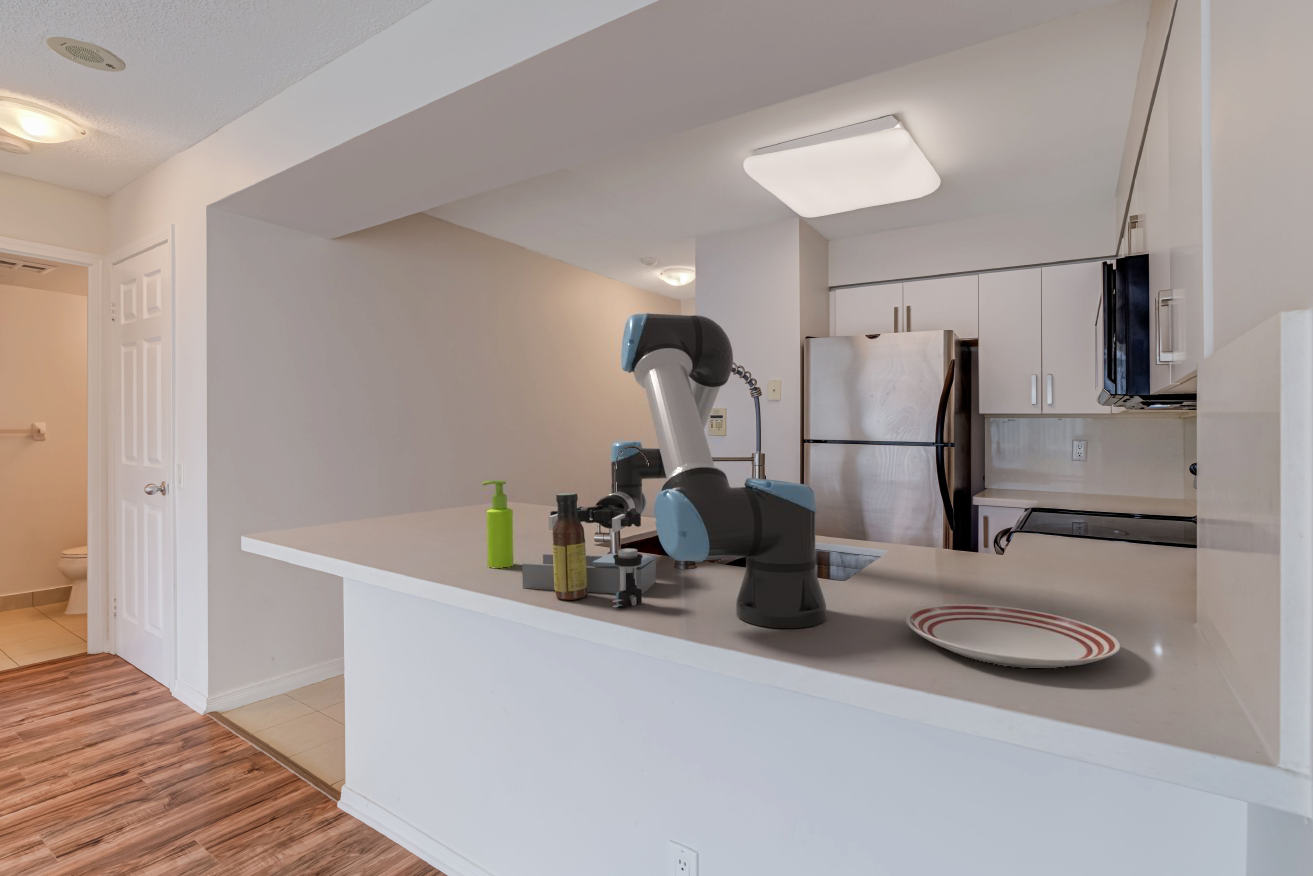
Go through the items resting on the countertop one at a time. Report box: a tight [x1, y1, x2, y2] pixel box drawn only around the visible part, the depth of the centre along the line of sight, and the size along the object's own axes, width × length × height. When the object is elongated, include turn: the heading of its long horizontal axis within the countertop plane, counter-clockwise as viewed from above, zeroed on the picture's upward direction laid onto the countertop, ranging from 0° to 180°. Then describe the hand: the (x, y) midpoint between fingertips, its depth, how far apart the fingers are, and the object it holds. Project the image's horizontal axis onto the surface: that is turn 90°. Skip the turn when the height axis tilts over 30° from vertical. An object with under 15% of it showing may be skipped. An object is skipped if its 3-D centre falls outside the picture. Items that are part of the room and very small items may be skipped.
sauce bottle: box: [551, 492, 588, 601], centre depth 126 cm, size 6×6×20 cm
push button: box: [612, 547, 644, 609], centre depth 120 cm, size 7×5×10 cm
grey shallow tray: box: [521, 553, 657, 595], centre depth 135 cm, size 25×11×5 cm, turn 75°
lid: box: [592, 553, 656, 567], centre depth 133 cm, size 10×11×1 cm
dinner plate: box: [905, 603, 1121, 669], centre depth 97 cm, size 28×27×3 cm
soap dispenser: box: [480, 480, 514, 569], centre depth 154 cm, size 6×7×20 cm
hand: (581, 524), depth 133 cm, fingers open, 13 cm apart
